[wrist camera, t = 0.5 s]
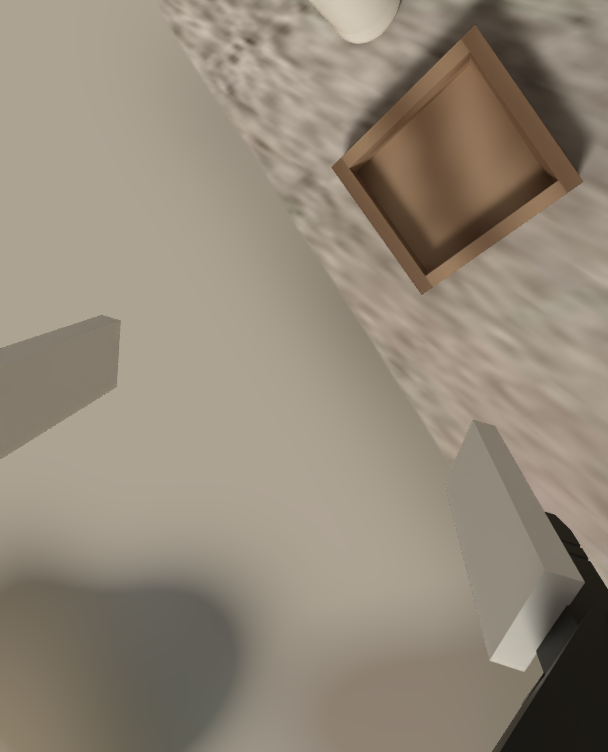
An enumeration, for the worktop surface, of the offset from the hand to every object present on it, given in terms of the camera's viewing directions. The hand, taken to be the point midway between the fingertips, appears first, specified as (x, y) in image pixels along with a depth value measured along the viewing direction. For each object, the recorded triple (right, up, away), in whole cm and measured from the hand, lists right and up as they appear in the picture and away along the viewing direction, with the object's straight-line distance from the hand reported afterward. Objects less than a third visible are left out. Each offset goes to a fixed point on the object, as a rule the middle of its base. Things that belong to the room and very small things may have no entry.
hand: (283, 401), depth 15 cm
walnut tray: (+12, +16, +16) cm, 26 cm away
